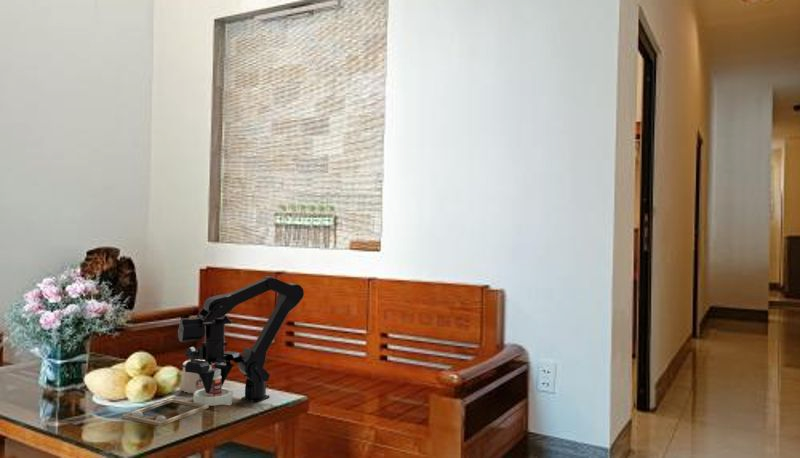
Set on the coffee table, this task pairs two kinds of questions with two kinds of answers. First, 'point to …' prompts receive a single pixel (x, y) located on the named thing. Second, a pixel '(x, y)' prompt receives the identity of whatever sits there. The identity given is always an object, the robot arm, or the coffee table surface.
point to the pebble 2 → (160, 418)
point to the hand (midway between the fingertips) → (213, 390)
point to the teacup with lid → (191, 380)
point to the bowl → (213, 398)
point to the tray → (201, 407)
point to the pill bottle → (215, 384)
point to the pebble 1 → (137, 414)
